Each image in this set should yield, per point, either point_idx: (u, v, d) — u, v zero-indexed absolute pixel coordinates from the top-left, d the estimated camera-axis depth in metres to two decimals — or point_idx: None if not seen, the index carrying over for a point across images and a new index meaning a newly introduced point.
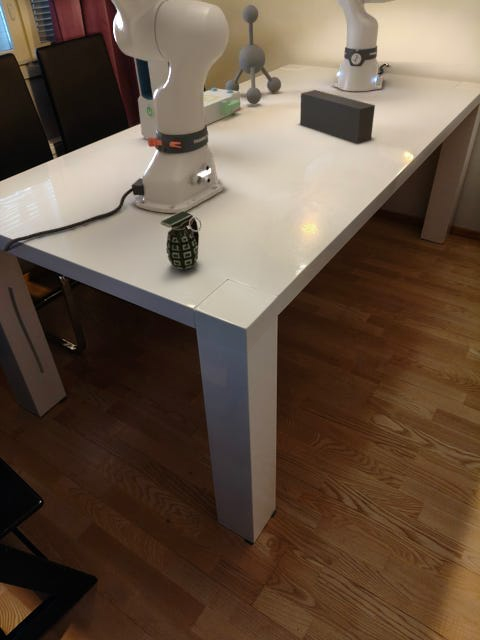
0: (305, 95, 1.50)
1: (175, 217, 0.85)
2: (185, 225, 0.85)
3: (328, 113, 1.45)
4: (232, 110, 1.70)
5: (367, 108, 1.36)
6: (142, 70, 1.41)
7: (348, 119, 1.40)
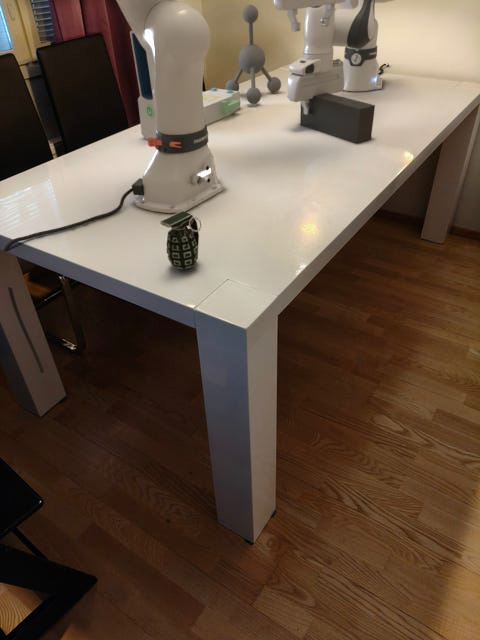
0: None
1: (175, 217, 0.85)
2: (185, 225, 0.85)
3: (327, 113, 1.45)
4: (232, 110, 1.70)
5: (367, 108, 1.36)
6: (142, 70, 1.41)
7: (348, 119, 1.40)
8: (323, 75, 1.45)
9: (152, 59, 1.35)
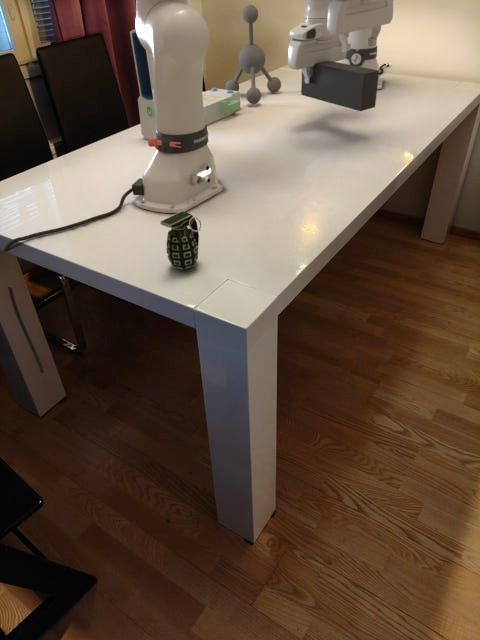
0: None
1: (175, 217, 0.85)
2: (185, 225, 0.85)
3: (330, 80, 1.40)
4: (232, 110, 1.70)
5: (371, 73, 1.31)
6: (142, 70, 1.41)
7: (351, 86, 1.34)
8: (325, 41, 1.39)
9: (152, 59, 1.35)
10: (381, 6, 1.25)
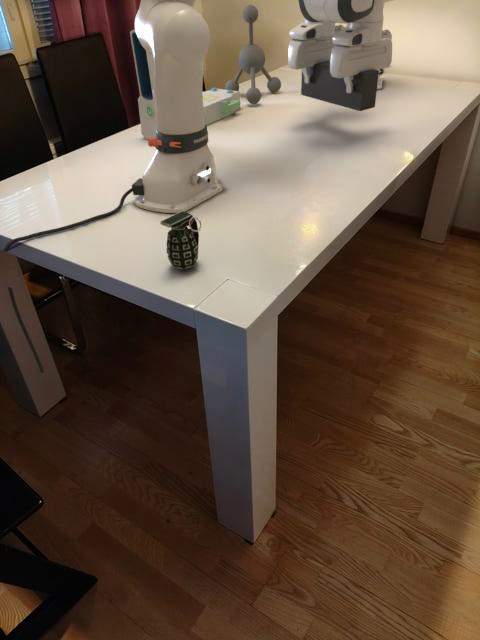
0: None
1: (175, 217, 0.85)
2: (185, 225, 0.85)
3: (330, 80, 1.40)
4: (232, 110, 1.70)
5: (371, 73, 1.31)
6: (142, 70, 1.41)
7: None
8: (325, 41, 1.39)
9: (152, 59, 1.35)
10: (380, 51, 1.32)
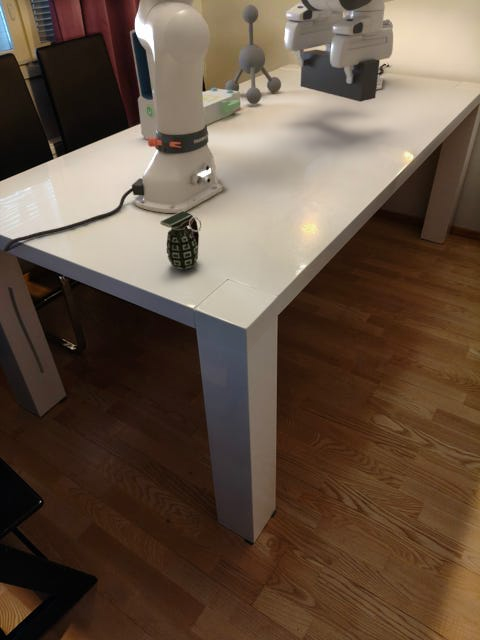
0: (306, 54, 1.43)
1: (175, 217, 0.85)
2: (185, 225, 0.85)
3: (330, 71, 1.38)
4: (232, 110, 1.70)
5: (371, 63, 1.29)
6: (142, 70, 1.41)
7: None
8: (322, 22, 1.38)
9: (152, 59, 1.35)
10: (381, 42, 1.30)
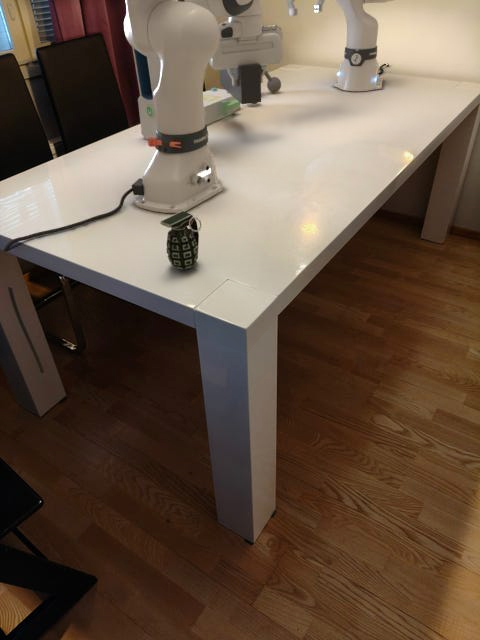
0: None
1: (175, 217, 0.85)
2: (185, 225, 0.85)
3: None
4: (232, 110, 1.70)
5: (250, 67, 1.31)
6: (142, 70, 1.41)
7: None
8: None
9: (152, 59, 1.35)
10: (266, 47, 1.31)
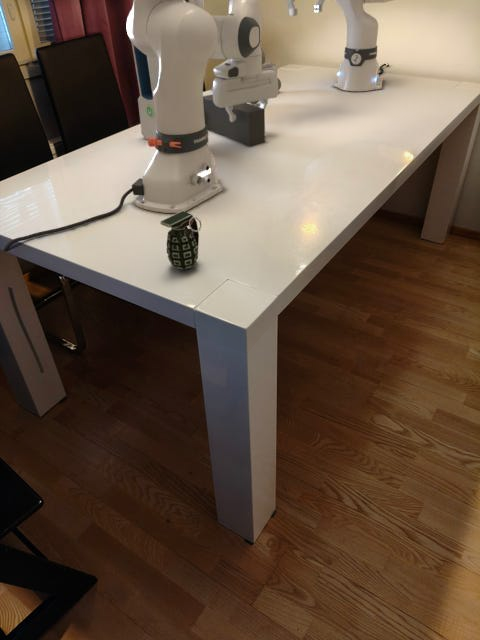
0: (204, 99, 1.53)
1: (175, 217, 0.85)
2: (185, 225, 0.85)
3: (224, 116, 1.48)
4: None
5: (256, 112, 1.39)
6: (142, 70, 1.41)
7: (240, 123, 1.42)
8: None
9: (152, 59, 1.35)
10: (265, 83, 1.38)
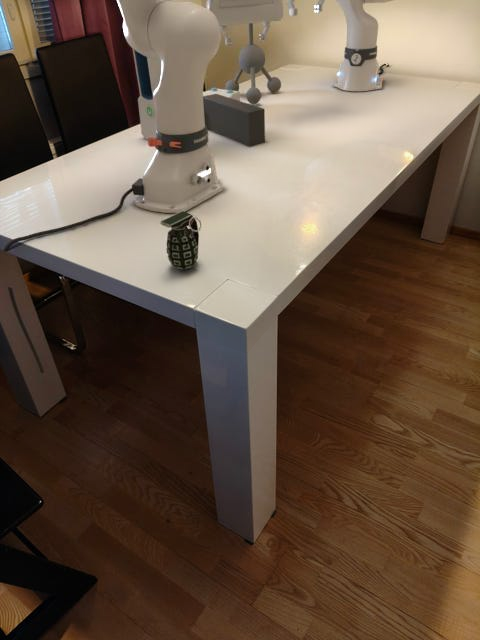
0: (204, 99, 1.53)
1: (175, 217, 0.85)
2: (185, 225, 0.85)
3: (224, 116, 1.48)
4: None
5: (256, 112, 1.39)
6: (142, 70, 1.41)
7: (240, 123, 1.42)
8: None
9: (152, 59, 1.35)
10: (266, 2, 1.25)
